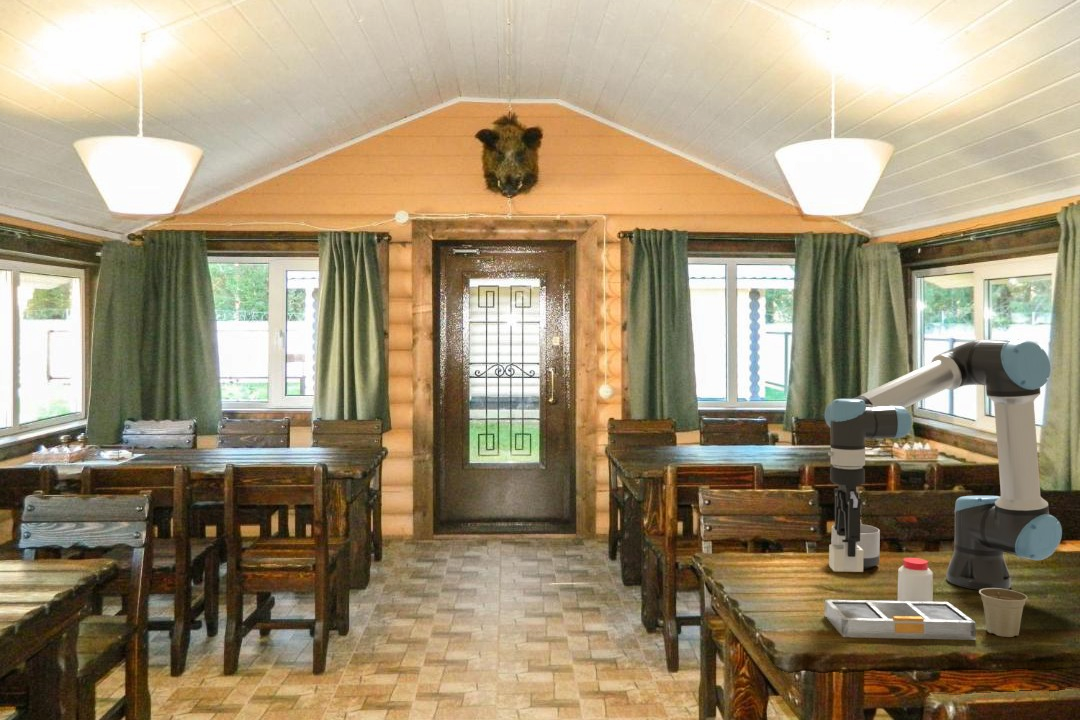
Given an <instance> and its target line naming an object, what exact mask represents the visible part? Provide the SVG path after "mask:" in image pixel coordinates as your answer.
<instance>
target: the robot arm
mask: <svg viewBox="0 0 1080 720" xmlns="http://www.w3.org/2000/svg"><path fill="white" fill-rule="evenodd" d="M1050 376H1051V362H1050V358H1049V356H1048V354H1047V353H1046V351H1045V349H1043V347H1041V346H1040V345H1039V344H1037V343H1036V342H1034V341H1030V340H1022V339H977V340H972V341H969V342H966V343H963V344H960V345H958V346H955V347H953V348H951V349H949V350H946V351H944V352H942V353H940V354H938V355H936V356H934V357H933V358H932V360H931V362H930V363H927V364H925V365H923V366H921V367H919V368H917V369H915V370H913V371H909V372H907V373H906V374H904V375H901V376H900V377H897V378H895V379H893V380H891V381H888V382H886V383H884V384H882V385H880V386H878V387H875V388H873V389H871V390H869V391H867V392H864V393H862V394H859V395H858V396H856V397H853V398H835V399H834V400H833V401H832V402H831V403H829V404H828V405H827V406H826V408H825V410H824V421H825V423H826V425H827V427H829V428H830V431H829V432H830V434H829V435H830V443H829V444H830V451H828V452H827V455H828V456H830V465H832V466H830V467H829V468H830V469H829V472H830V473H829V479H830V480H829V481H830V482H831V483H832V484H834V485H838V487H837V488H834V489H833V494H834V525H835V530H837V535H839V536H838V545H844V570H857V542H860V524H861V509H862V499H861V498H859V493H858V492H857V491H858V489H857V486H861V485H864V484H865V483H866V482H865V481H866V469H865V468H864V466H865V465H866V441H867V440H882V439H883V440H884V439H887V440H888V439H892V440H895V439H899V438H904V437H906V436H908V435H909V433H910V431H911V429H912V426H913V425H912V423H913V422H912V421H913V420H912V415H911V413H910V412H909V410H908V409H907V408H908V407H910V406H912V405H914V404H916V403H918V402H919V403H920V402H921V401H923V400H925V399H927V398H929V397H932V396H934V395H936V394H939V393H940V392H943V391H945V390H949V391H950V390H951V391H953V390H956V389H958V388H961V387H964V386H972V385H975V386H976V385H979V386H981V385H982V386H985V391H986V397H987V398H989V399H990V400H991V401H992V402H993V405H994V406H993V407H994V419H995V421H994V422H995V430H996V432H995V434H996V444H997V445H996V447H997V448H996V449H997V459H998V474H999V485H1000V487H999V488H1000V496H999V495H966V496H965V495H964V496H960V497H958V498H957V499H956V500H955V504H954V505H955V506H954V507H955V508H954V512H953V513H954V515H953V517H954V518H953V519H954V525H953V527H954V529H953V531H954V533H953V534H954V538H953V539H954V542H953V543H954V546H953V549H954V550H953V553H952V556H951V559H950V561H949V564H948V567H947V569H946V581H948V583H950V584H952V585H954V586H958V587H962V588H965V589H971V590H977V591H979V590H981V589H985V588H1001V589H1008V590H1010V588H1011V585H1012V584H1011V583H1012V581H1011V575H1010V572H1009V569H1008V566H1007V562H1006V561H1005V560H1006V559H1005V554H1004V553H1006V554H1010V555H1014V556H1016V557H1019V558H1020V559H1028V560H1031V561H1042V560H1046V559H1047V558H1049V557H1051V556H1052V555H1053V554H1054V553H1055V551H1056V550H1057V549H1058V547H1059V545H1060V543H1061V540H1062V535H1063V527H1062V525H1061V523H1060V520H1058V519H1057V518H1056V517H1055V516H1054V515H1052V514H1050V510H1049V502H1048V501H1047V500H1046V499H1044V498H1043V497H1042V496H1041V484H1040V473H1039V472H1040V470H1039V455H1038V443H1037V442H1038V441H1037V428H1036V427H1037V426H1036V413H1035V402H1034V401H1035V400H1036V399H1037V398H1038V397H1039V395H1041V388H1042V387H1044V385H1046V384H1047V382H1048V378H1049V377H1050Z"/></svg>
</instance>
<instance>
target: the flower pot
mask: <svg viewBox="0 0 1080 720" xmlns="http://www.w3.org/2000/svg"><path fill="white" fill-rule="evenodd" d="M978 593H979V595H980V598H981V601H982V604H983V606H982V607H983V612H984V617H985V618H984V619H985V626H986V631H987V632H988V633H989V634H994V635H996V636H998V637H1003V638H1005V637H1006V638H1014V637H1015V636H1016V637H1018V636H1019V635H1020V634H1019V633H1020V627H1021V622H1022V615H1023V610H1024V607H1025V605H1026V601H1028V596H1027V595H1026V594H1025V593H1023V592H1019V591H1017V590H1016V591H1015V590H1012V589H1001V588H985V589H981V590H978Z"/></svg>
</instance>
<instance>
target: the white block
mask: <svg viewBox="0 0 1080 720" xmlns="http://www.w3.org/2000/svg"><path fill="white" fill-rule="evenodd" d="M828 546H829V547H828V548H829V549H828V555H829V556H828V567H830V569H831V570H832V571H833V572H845V573H846V572H847V573H848V572H849V573H850V572H853V573H854V572H855V573H857V572H858V573H864V569H863V554H864V550H863V549H862V548H861V547H859V546H858V545H857V570H844V545H831V544H828Z"/></svg>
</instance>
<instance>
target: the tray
mask: <svg viewBox="0 0 1080 720" xmlns="http://www.w3.org/2000/svg"><path fill="white" fill-rule="evenodd" d="M824 616H825V618H826V617H827V618H826V619H827V620H828V622H829V623H830V624H832V626H833V627H834V628H835V630H836V631H837V632H838V633H839V634H840V636H841V637H842V638H857V639H859V638H863V639H865V638H868V639H904V640H905V639H907V640H908V639H909V640H910V639H911V640H918V639H919V640H953V641H954V640H956V641H957V640H959V641H961V640H962V641H967V640H968V641H976V638H977V637H976V632H977V631H976V627H977V623H976V622H975V620H973V619H972V618H970V617H969V616H968V615H966V613H963V611H961V610H959V608H957V607H956V606H954V605H953V604H952V603H951V602H949V601H932V602H925V601H898V600H871V599H869V600H864V599H863V600H861V599H860V600H859V599H824Z"/></svg>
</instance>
